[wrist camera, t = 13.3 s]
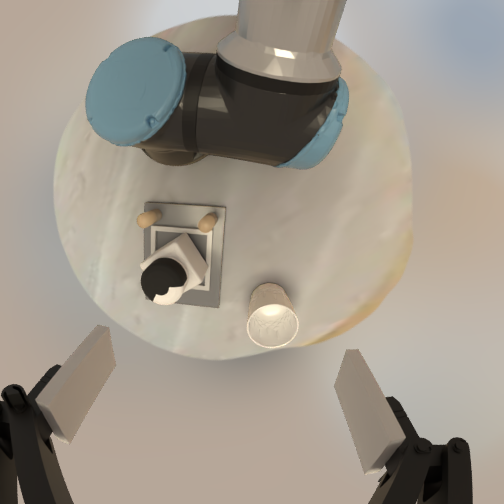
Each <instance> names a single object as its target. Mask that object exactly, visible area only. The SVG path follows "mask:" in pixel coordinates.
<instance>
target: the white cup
mask: <svg viewBox="0 0 504 504" xmlns="http://www.w3.org/2000/svg"><path fill="white" fill-rule="evenodd" d="M298 327H299V322H298V318H297V316H296V314H295V311H294V309H293V306H292V304H291V302H290V300H289V298H288V296H287V294H286V293H285V291H284V289H283V288H282V287H280V286H278V285H277V284H272V283H266V284H263V285H260V286H258V287H257V288H256V289H255V290H254V291H253V293H252V296H251V298H250V304H249V310H248V320H247V332H248V335H249V337H250V338H251V340H252V341H253V342H255V343H256V344H257V345H259V346H262V347H265V348H277V347H281V346H284V345H286V344H287V343H289V342H290V341H291V340H292V339H293V338H294V337H295V335H296V334H297V331H298Z"/></svg>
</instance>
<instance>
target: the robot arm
mask: <svg viewBox="0 0 504 504" xmlns="http://www.w3.org/2000/svg"><path fill="white" fill-rule="evenodd" d="M346 1H347V0H239V8H238V15H237V23H236V30H235V31H234V32H232V33H231V34H229V35H228V36H226V37H225V38H223V39H222V40H221V41H220V42H219V43H218V45H217V54H212V53H195V52H181V51H180V50H179V48H178V47H176V46H175V45H173V44H172V43H170V42H168V41H166V40H163V39H161V38H156V37H144V38H139V39H135V40H132V41H129V42H127V43H125V44H123V45H121V46H120V47H118V48H117V49H115V50H114V51H113V52H112V53H111V54H110V56H109V58H108V59H106V60H105V61H102V63H101V64H100V65H99V67H98V68H97V69H96V71H95V73H94V75H93V77H92V79H91V81H90V84H89V86H88V90H87V94H86V114H87V118H88V121H89V122H90V124H91V126H92V128H93V130H94V131H95V132H96V133H97V134H98V135H99V136H100V137H102V138H103V139H105V140H108V141H110V142H111V143H112V144H116V145H117V146H132V147H137V148H141V149H142V150H143V151H144V153H145V154H146V155H147V156H149V157H150V158H151V159H153V160H154V161H156V162H158V163H161V164H164V165H170V166H185V165H189V164H193V163H195V162H197V161H199V160H201V159H203V158H204V157H206V156H207V155H214V156H221V157H227V158H233V159H239V160H245V161H250V162H256V163H261V164H266V165H271V166H273V167H278V168H281V167H288V168H295V169H309V168H312V167H314V166H316V165H318V164H319V163H320V162H321V161H322V160H323V159H324V158H325V157H326V156H327V154H328V153H329V152H330V150H331V149H332V147H333V146H334V144H335V142H336V140H337V138H338V136H339V134H340V132H341V129H342V126H343V124H342V119H343V118H344V116H345V115H346V112H347V108H348V102H349V91H348V87H347V84H346V82H345V81H344V80H343V79H342V78H341V77H340V74H341V70H342V68H341V65H340V63H339V61H338V59H337V58H336V56H335V55H334V53H333V51H332V49H331V47H332V44H333V41H334V38H335V35H336V32H337V29H338V26H339V22H340V19H341V16H342V13H343V10H344V6H345V4H346ZM115 366H116V362H115V358H114V353H113V348H112V342H111V336H110V330H109V327H105V326H100V325H97V326H96V327H95V328H94V330H93V331H92V332H91V333H90V334H89V335H88V337H86V339H85V340H84V341H83V342H82V343H81V344H80V345H79V347H78V348H77V349H76V350H75V351H74V352H73V354H72V355H71V356H70V357H69V358H68V359H67V361H66V362H65V363H64V364H63V365H62V366H60V365H55V366H53V367H52V368H50V369H49V370H48V371H47V372H46V373H45V375H44V376H43V377H42V378H41V379H40V381H39V382H38V383H37V384H36V385H35V387H34V388H33V389H32V390H31V391H30V393H29V394H28V395H26V393H25V391H24V389H23V388H22V387H21V386H20V385H17V384H12V385H8V386H7V387H5V388H4V389H3V391H2V393H1V396H2V398H3V400H4V401H0V504H18V497H17V476H18V480H19V484H20V488H21V492H22V495H23V499H24V502H25V504H74V503H73V501H72V499H71V496H70V494H69V491H68V489H67V486H66V484H65V481H64V478H63V475H62V472H61V469H60V466H59V463H58V460H57V457H56V453H55V450H54V446H53V443H52V439H51V437H50V435H51V433H52V432H53V433H54V434H55V436H56V438H57V439H59V440H61V441H63V442H66V443H68V444H70V443H71V441H72V440H73V438H74V436H75V434H76V432H77V430H78V429H79V427H80V425H81V423H82V422H83V420H84V418H85V416H86V415H87V413H88V411H89V409H90V408H91V406H92V404H93V402H94V401H95V399H96V397H97V396H98V394H99V392H100V391H101V389H102V387H103V386H104V384H105V382H106V381H107V379H108V378H109V376H110V374H111V372H112V371H113V369H114V368H115ZM334 387H335V390H336V393H337V395H338V398H339V401H340V404H341V407H342V409H343V412H344V415H345V418H346V421H347V424H348V427H349V429H350V432H351V435H352V438H353V441H354V444H355V447H356V450H357V453H358V456H359V459H360V462H361V465H362V468H363V471H364V474H365V475H366V474H370V473H375V472H379V471H380V470H381V469H382V468H383V467H384V466H385V467H386V469H387V471H386V473H385V474H384V475H383V476H382V477H381V478H380V479H379V481H378V482H380V481H381V482H380V484H379V486H378V487H377V489H376V491H375V493H374V494H373V496H372V498H371V500H370V501H369V503H368V504H416V502H417V504H473V496H472V495H473V494H472V471H471V459H470V449H469V445H468V443H467V442H466V441H465V440H464V439H462V438H458V437H456V438H452V439H451V440H450V441H449V442H448V443H447V444H446V445H432V443H431V442H430V441H428V440H427V439H425V438H420V437H419V436H418V434H417V433H416V431H415V429H414V427H413V425H412V423H411V421H410V420H409V418H408V417H407V414H406V413H405V411H404V409H403V407H402V406H401V404H400V402H399V401H397V400H396V399H395V398H394V397H393V396H392V397H385V396H384V394H383V393H382V391H381V389H380V387H379V385H378V383H377V382H376V380H375V378H374V376H373V374H372V373H371V371H370V369H369V367H368V365H367V364H366V362H365V360H364V358H363V356H362V355H361V353H360V351H359V350H358V349H356V350H346V352H345V355H344V358H343V361H342V364H341V367H340V371H339V373H338V377H337V379H336V382H335V385H334ZM417 499H418V501H417Z"/></svg>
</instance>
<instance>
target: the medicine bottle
mask: <svg viewBox="0 0 504 504" xmlns="http://www.w3.org/2000/svg"><path fill="white" fill-rule="evenodd" d="M140 267H141V268H142V270H143V273H142V276H141V286H142V289H143V291H144V293H145V295H146V296H147V297H148V298H149V299H150V300H151V301H153V302H155V303H157V304H160V305H170V304H173V303H175V302H176V301H178V300H179V298H180V297H181V295H182V293H184V292H186V291H188V290H190V289H191V288H193V287H195V286H197V285H199V284H200V283H202V281H203V279H204V276H205V274H206V272H207V269H208V265H207V264H206V262H205V261H204V259H203V258H202V256H201V254H200V253H199V251H198V250H197V248H196V247H195V245H194V243H193V242H192V240H191V239H190V237H189V236H188V234H187V233H183V234H182V235H180V236H178V237H177V238H175V239H174V240H172V241H171V242H169V243H167V244H166V245H164V246H163V247H161V248H160V249H158V250H157V251H155V252H154V253H153V254H151V255H150V256H149V257H148V258H147V259H146V260H144V261H143V262H142V263H141V264H140Z"/></svg>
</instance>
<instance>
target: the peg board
mask: <svg viewBox="0 0 504 504" xmlns="http://www.w3.org/2000/svg"><path fill="white" fill-rule="evenodd" d="M225 212H226V207H215V206H202V205H187V204H171V203H154V202H146V203H145V206H144V213H143V214H140V215H139V216H138V218H137V224H138V225H139V226H140V227H141V228H144V260H146V259H147V258H148V257H149V256H150V255H151V254H153V253H154V252H155V251H157V250H158V249H160V248H161V247H163V246H164V245H166V244H167V243H169V242H171V241H172V240H174V239H175V238H177V237H178V236H180V235H182V234H183V233H187V234H188V236H189V237H190V239H191V240H192V242H193V243H194V245H195V247H196V248H197V250H198V251H199V253H200V254H201V256H202V258H203V259H204V261H205V262H206V264H207V265H208V269H207V272H206V274H205V276H204V279H203V281H202V283H200V284H199V285H197V286H195V287H193V288H191V289H190V290H188V291H186V292H184V293H182V295H181V297H180V298H179V300H178V301H176V302H175V303H177V304H186V305H194V306H203V307H213V308H219V300H220V283H221V267H222V252H223V238H224V224H225ZM146 299H147V300H150V299H149V298H148V297H147V296H146Z"/></svg>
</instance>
